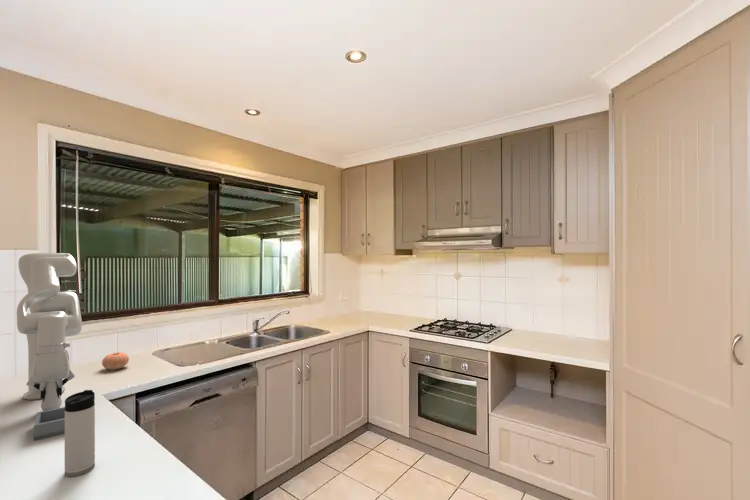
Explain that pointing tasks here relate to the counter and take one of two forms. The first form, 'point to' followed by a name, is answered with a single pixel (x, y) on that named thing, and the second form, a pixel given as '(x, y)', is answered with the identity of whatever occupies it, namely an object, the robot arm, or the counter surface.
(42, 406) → the salt shaker
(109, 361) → the orange pumpkin
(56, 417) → the box
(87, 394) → the travel mug
